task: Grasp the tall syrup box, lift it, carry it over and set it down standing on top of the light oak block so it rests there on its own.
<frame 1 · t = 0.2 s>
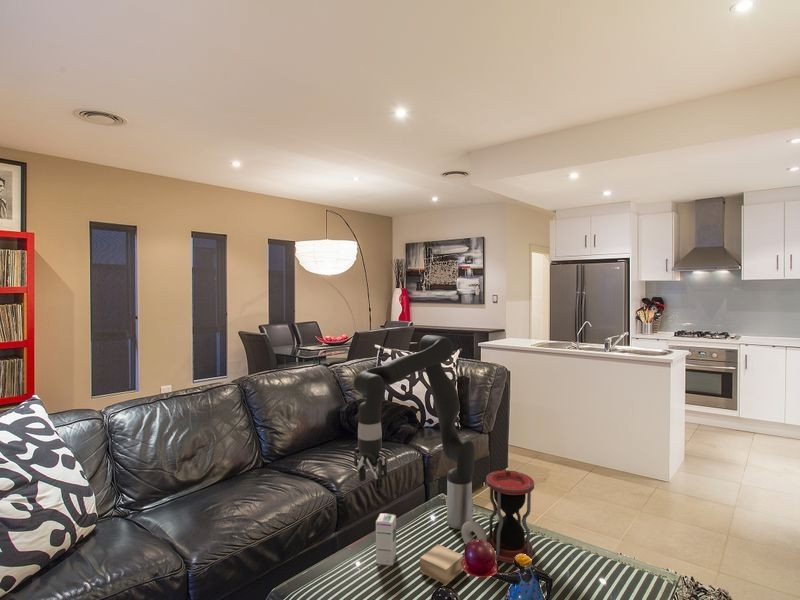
hand: (370, 484, 153), 28 cm above the table, fingers open, 8 cm apart
hourglass: (508, 550, 166), on the table
donut: (473, 550, 166), on the table
oak block: (441, 571, 154), on the table
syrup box: (386, 560, 159), on the table
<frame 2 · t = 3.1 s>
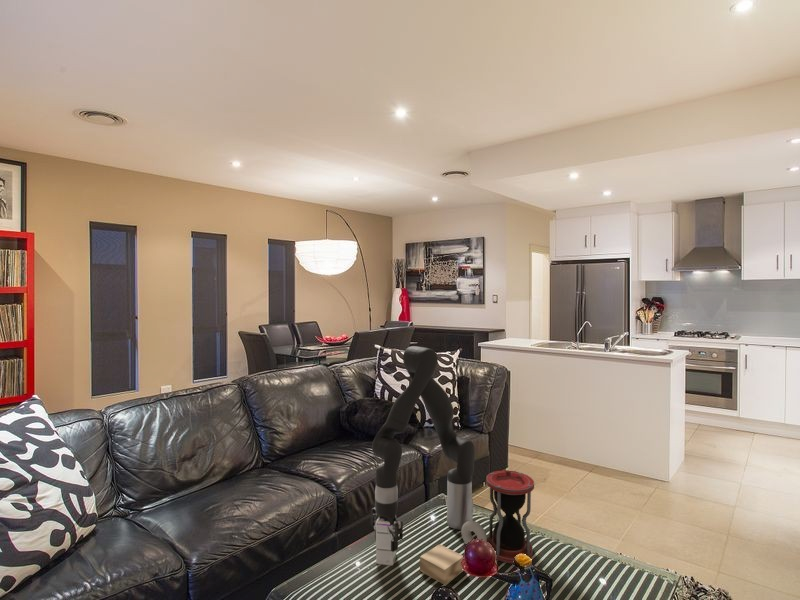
hand: (386, 545, 159), 5 cm above the table, fingers closed on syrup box, 7 cm apart
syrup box: (386, 560, 159), on the table, touching gripper
everything else where it was.
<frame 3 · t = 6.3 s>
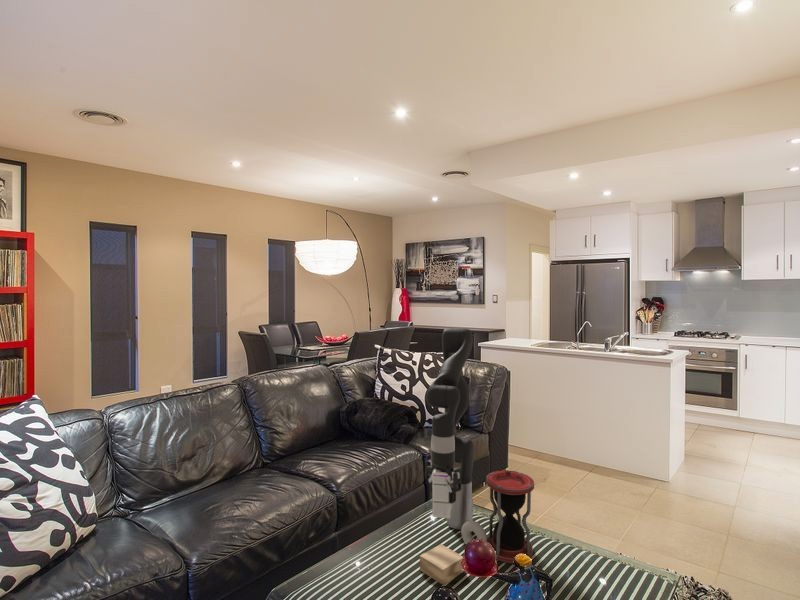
hand: (442, 498, 153), 24 cm above the table, fingers closed on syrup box, 7 cm apart
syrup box: (442, 514, 153), point 19 cm above the table, touching gripper
everything else where it was.
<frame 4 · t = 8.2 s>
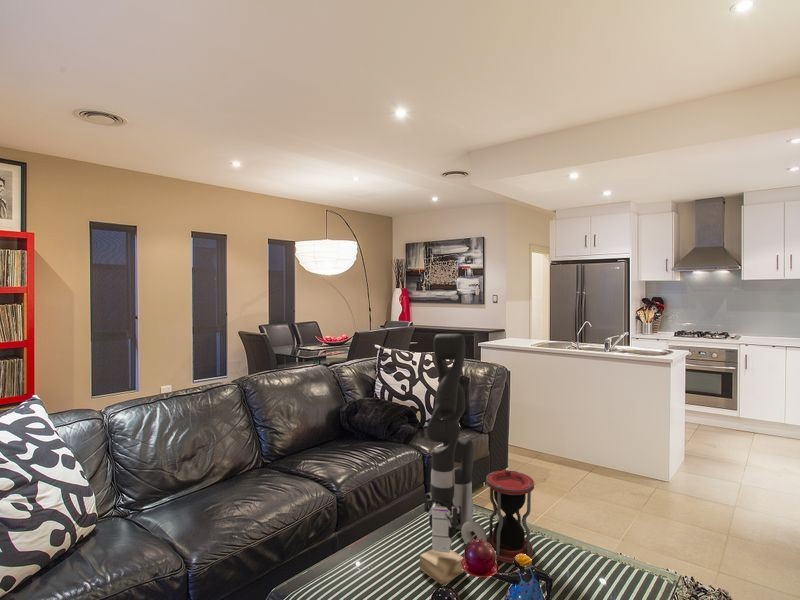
hand: (442, 531, 153), 13 cm above the table, fingers closed on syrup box, 7 cm apart
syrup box: (441, 547, 154), point 8 cm above the table, touching gripper
everything else where it was.
when the fingers open (11 cm above the table, at t = 9.7 s): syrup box drops 2 cm, resting on oak block.
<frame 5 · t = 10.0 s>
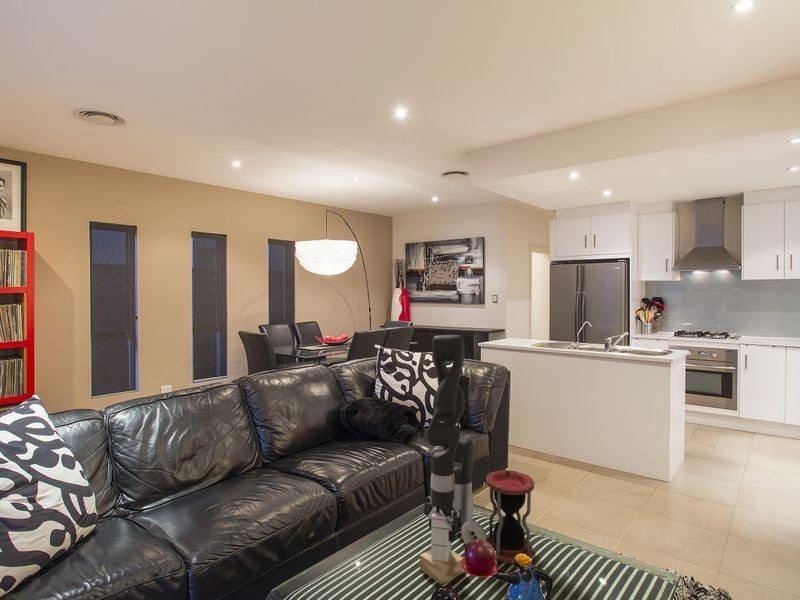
hand: (441, 535, 154), 12 cm above the table, fingers open, 8 cm apart
oak block: (441, 571, 154), on the table, touching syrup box
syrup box: (441, 556, 154), point 4 cm above the table, touching gripper, oak block
everything else where it was.
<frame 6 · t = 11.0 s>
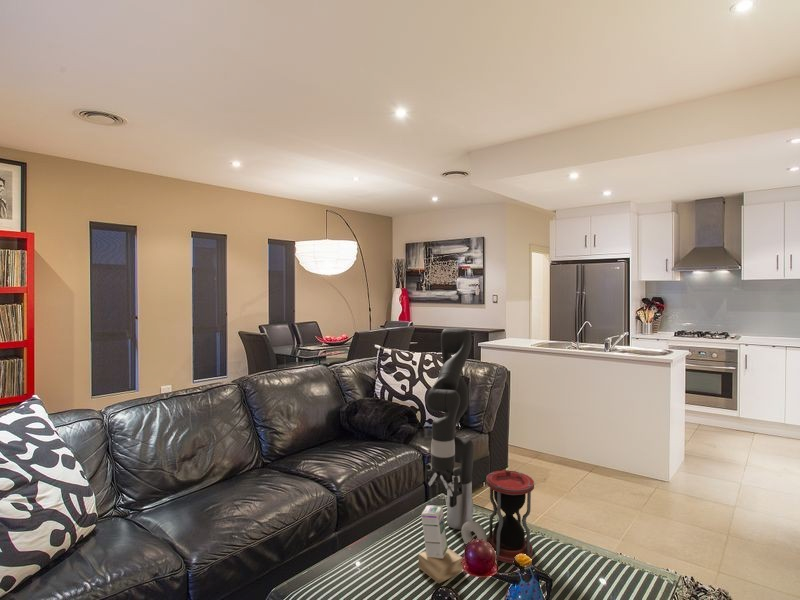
hand: (442, 501, 153), 23 cm above the table, fingers open, 8 cm apart
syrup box: (437, 553, 155), point 5 cm above the table, touching oak block
everything else where it was.
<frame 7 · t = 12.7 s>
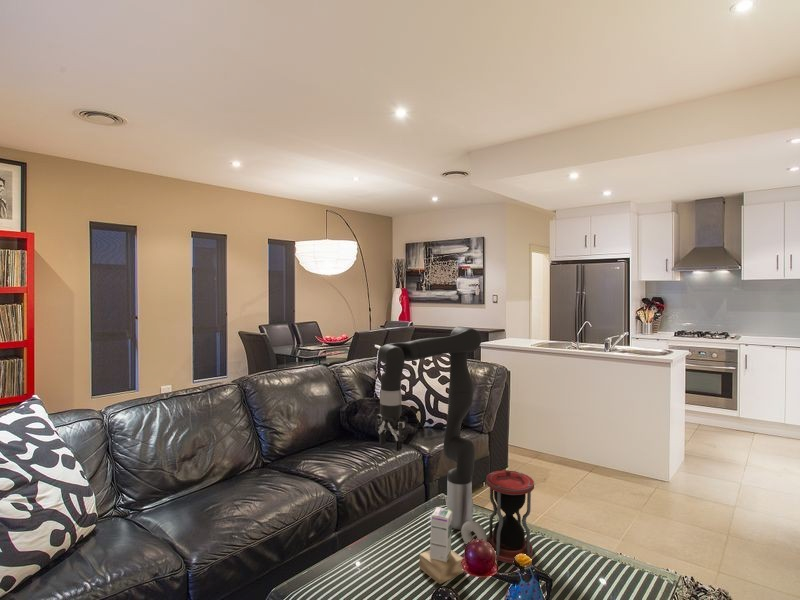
hand: (390, 447, 169), 34 cm above the table, fingers open, 8 cm apart
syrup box: (440, 556, 154), point 5 cm above the table, touching oak block
everything else where it was.
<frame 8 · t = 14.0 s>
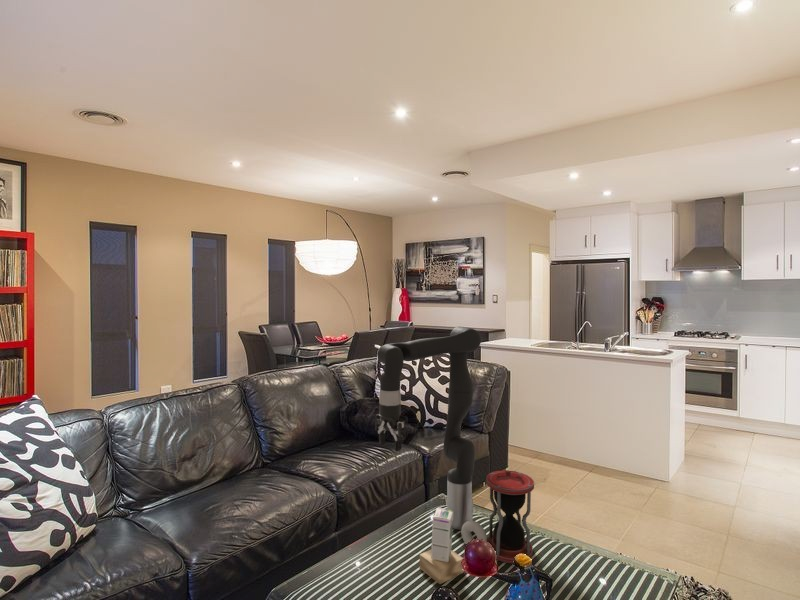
hand: (389, 447, 169), 34 cm above the table, fingers open, 8 cm apart
at the end: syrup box inside the target area on the oak block (0.2 cm from its centre), point 5.2 cm above the oak block's base; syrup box tilted 6°; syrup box touching nothing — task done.
